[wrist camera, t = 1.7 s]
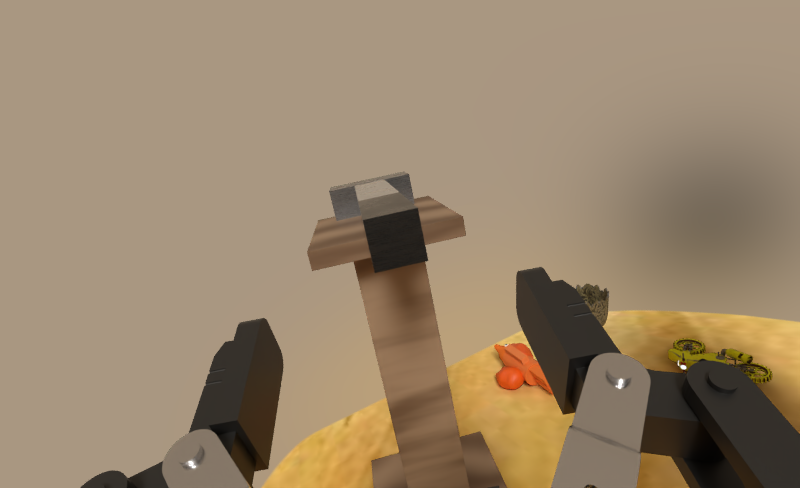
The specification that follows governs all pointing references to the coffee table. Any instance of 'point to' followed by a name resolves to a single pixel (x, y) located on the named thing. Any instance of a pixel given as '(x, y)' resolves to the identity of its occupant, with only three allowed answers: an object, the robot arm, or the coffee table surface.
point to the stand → (410, 358)
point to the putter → (384, 219)
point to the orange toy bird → (519, 367)
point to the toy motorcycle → (715, 359)
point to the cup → (595, 301)
